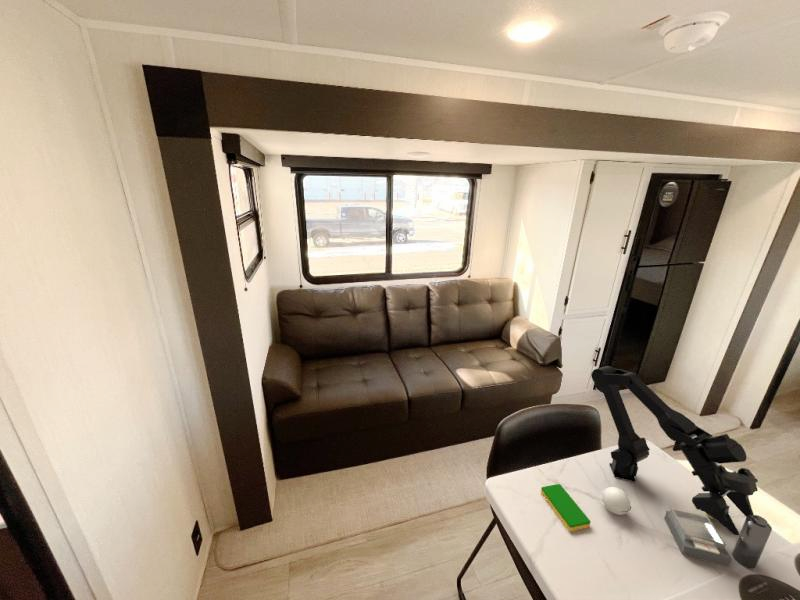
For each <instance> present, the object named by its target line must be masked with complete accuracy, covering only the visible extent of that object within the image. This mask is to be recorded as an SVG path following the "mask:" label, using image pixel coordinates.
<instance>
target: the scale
mask: <svg viewBox="0 0 800 600" xmlns="http://www.w3.org/2000/svg"><path fill="white" fill-rule="evenodd" d="M709 518H710V517H709V516H708V515H704V514H703V515H702V514H699V513H695V512H691V511H688V510H682V509H678V508H674V507H671V508H670V511H668V510H666V511H665V514H664V518H663V519H664V521H665V523H666V525H667V527H668V529H669V530H670V531H669V532H670V533H671V535H672V537H673V539H674V542H675V543H676V546H677V547H678V549H679V551H680V553H681V555H684V556H686V557H691V558H694V559H698V560H701V561H705V562H709V563H713V564H716V565H720V566H722V567H723V566H724V567H727V568H728V567H730V564H731V561H732V559H733V558H732V556H731V555H730V554H729V552H728V551H727V549H726V545H727V544H726V542H724V540H723V538H722V537H721V535H720V534H719V532H718V531H717V529H716V528H715V526H714V524H713V522H712V521H711V520H710V519H709Z"/></svg>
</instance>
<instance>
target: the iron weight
mask: <svg viewBox="0 0 800 600" xmlns="http://www.w3.org/2000/svg"><path fill="white" fill-rule="evenodd" d="M772 531H773V527H772V526H771V525H770V524H769V523H768V521H767V520H766V519H765V517H762V516H760V515H758V514H754V516H753V515H748V516H747V517H746V516H745V520H744V522H743V525H742V528H741V530H740V532H739V536H738V538H737V540H736V542H735V545H734V548H733V549H732V553H731V555H732V556H731V557H733V558H732V559H734V561H736V562H737V563H738V564H740V565H741V566H743V567H744V568H747V569H750V570H755V569H756V567H757V566H758V563H759V561H760V559H761V556H762V554H763V552H764V550H765V546H766V544H767V542H768V540H769V537H770V536H771V533H772Z"/></svg>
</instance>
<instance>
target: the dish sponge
mask: <svg viewBox="0 0 800 600" xmlns="http://www.w3.org/2000/svg"><path fill="white" fill-rule="evenodd" d="M540 489H541V490H540V493H541V492H542V494H543V495H544V496H543V495H542V494H541V495H542V496H543V497H545V498H546V499H547V500H546V499H545V498H544V499H545V500H546V501H548V502H549V503H548V502H547V503H548V504H549V506H550V505H551V506H552V507H551V506H550V507H551V508H553V509H554V510H553V509H552V510H553V511H554V512H556V513H555V514H556V516H557V517H558V516H559V517H558V518H559V519H561V520H562V521H561V520H560V521H561V523H564V524H563V525H564V526H565V528H566V527H567V528H566V529H567V530H568V531H569V532H573V530H574V531H578V529H579V530H583V528H584V529H587V527H588V528H590V526H591V520H590V518H589V517H588V516H587V515H586V514H585V512H584V511H583V510H582V509H581V508H580V506H579V505H578V504H577V503H576V501H575V500H574V499H573V498H572V497H571V496H570V495H569V494H570V493H568V492H567V490H566V489H565V488H564V487H563V486H562V484H560V483H556V484H552V485H551V484H550V485H546V486H541V488H540Z"/></svg>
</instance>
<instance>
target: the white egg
mask: <svg viewBox="0 0 800 600" xmlns="http://www.w3.org/2000/svg"><path fill="white" fill-rule="evenodd" d="M601 495H602V497H601V498H602V502H603V504H604V505H603V506H604V507H605V508H606V509H607V510H608V511H609V512H611V513H613V514H615V515H618V516H624V515H625V514H628V513H629V512H630V511H631V510H632V506H631V500H630V498H629V496H628V494H626V492H624V491H623V490H622V489H620V488H618V487H616V486H615V487H613V486H609V487H607V488H605V489H604V490H603V492H602V494H601Z"/></svg>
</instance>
